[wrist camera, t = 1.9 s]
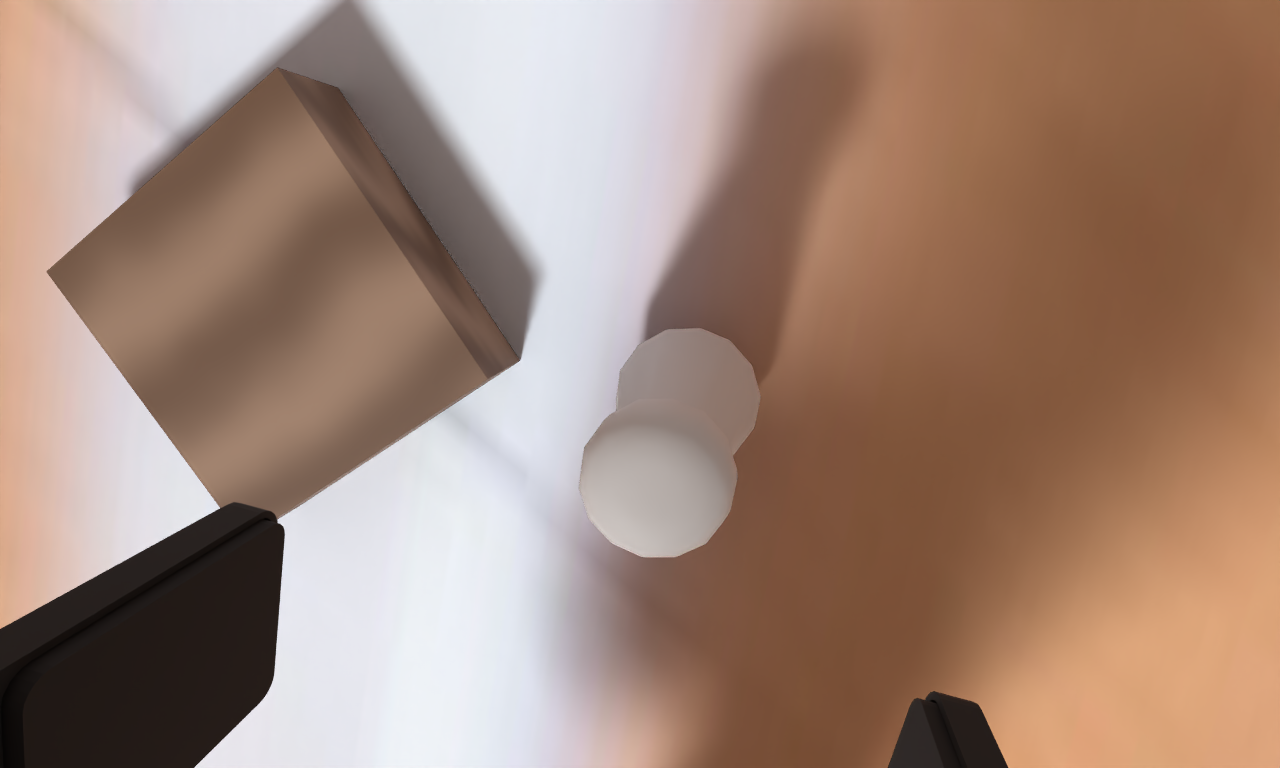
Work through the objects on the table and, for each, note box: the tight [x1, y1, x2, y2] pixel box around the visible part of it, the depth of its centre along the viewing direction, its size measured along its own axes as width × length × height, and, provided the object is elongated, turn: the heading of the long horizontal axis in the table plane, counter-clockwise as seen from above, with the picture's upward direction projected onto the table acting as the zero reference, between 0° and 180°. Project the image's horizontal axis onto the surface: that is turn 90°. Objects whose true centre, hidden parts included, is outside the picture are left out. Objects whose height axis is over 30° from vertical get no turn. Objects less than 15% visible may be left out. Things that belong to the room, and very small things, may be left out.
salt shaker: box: [579, 328, 761, 557], centre depth 24 cm, size 6×6×13 cm
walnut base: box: [47, 68, 520, 519], centre depth 31 cm, size 14×14×4 cm
